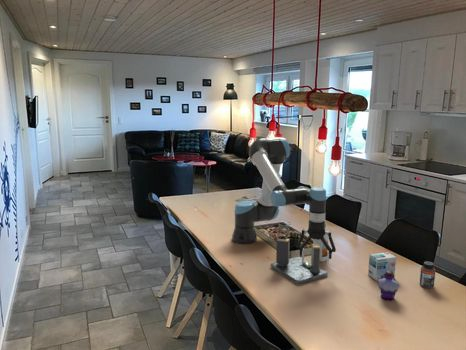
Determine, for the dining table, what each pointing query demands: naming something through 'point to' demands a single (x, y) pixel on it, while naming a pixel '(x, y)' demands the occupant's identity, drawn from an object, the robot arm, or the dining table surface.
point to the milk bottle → (322, 248)
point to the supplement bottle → (427, 275)
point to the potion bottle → (388, 286)
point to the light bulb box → (381, 265)
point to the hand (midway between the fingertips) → (315, 263)
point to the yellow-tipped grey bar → (282, 252)
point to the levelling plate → (298, 271)
